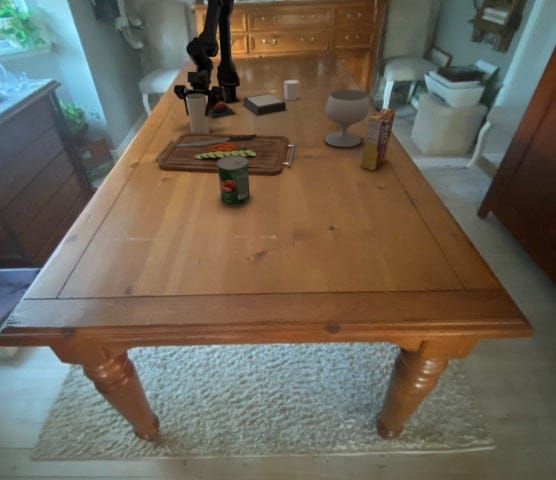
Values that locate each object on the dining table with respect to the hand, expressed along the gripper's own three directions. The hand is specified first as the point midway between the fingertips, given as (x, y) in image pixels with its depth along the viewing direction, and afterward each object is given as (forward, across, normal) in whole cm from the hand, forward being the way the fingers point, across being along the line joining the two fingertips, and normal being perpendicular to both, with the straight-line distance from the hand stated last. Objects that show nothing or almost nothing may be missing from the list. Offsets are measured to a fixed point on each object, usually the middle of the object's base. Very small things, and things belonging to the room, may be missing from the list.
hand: (196, 115), depth 126 cm
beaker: (+4, 0, +6) cm, 7 cm away
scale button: (-14, 0, +20) cm, 25 cm away
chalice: (+3, +53, +7) cm, 53 cm away
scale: (-18, +18, +28) cm, 37 cm away
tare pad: (-12, 0, +22) cm, 25 cm away
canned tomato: (+34, +27, -24) cm, 50 cm away
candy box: (+14, +63, -4) cm, 65 cm away
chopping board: (+15, +15, -5) cm, 22 cm away
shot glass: (-28, +27, +38) cm, 54 cm away
